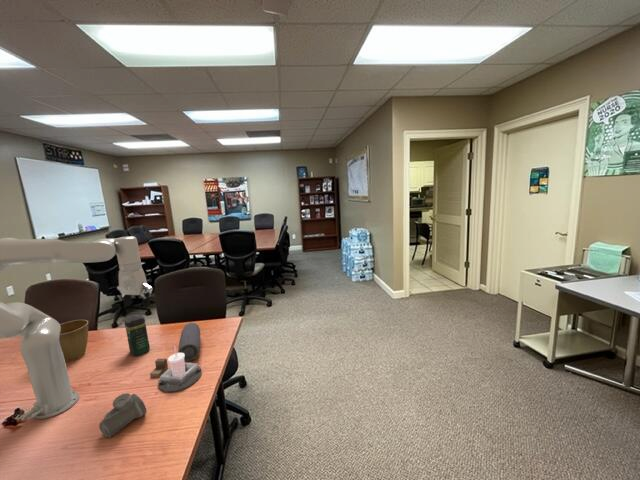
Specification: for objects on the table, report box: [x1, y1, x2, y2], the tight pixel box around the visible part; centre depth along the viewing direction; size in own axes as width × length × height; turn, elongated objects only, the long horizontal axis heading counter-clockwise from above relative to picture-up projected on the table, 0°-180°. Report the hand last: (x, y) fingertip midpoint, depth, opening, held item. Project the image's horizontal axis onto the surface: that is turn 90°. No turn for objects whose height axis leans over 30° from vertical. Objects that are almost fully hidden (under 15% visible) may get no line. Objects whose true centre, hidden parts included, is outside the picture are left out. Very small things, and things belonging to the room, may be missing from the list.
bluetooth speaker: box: [177, 322, 202, 362], centre depth 136 cm, size 23×9×10 cm, turn 22°
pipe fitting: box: [98, 392, 148, 438], centre depth 93 cm, size 12×8×10 cm, turn 148°
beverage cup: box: [167, 345, 186, 377], centre depth 114 cm, size 6×6×14 cm
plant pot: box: [59, 319, 89, 362], centre depth 135 cm, size 15×15×16 cm
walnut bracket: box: [149, 358, 169, 379], centre depth 120 cm, size 6×4×5 cm, turn 176°
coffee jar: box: [123, 313, 151, 357], centre depth 137 cm, size 10×8×19 cm
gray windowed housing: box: [157, 361, 202, 393], centre depth 115 cm, size 16×16×4 cm
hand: (137, 305), depth 117 cm, fingers open, 9 cm apart
